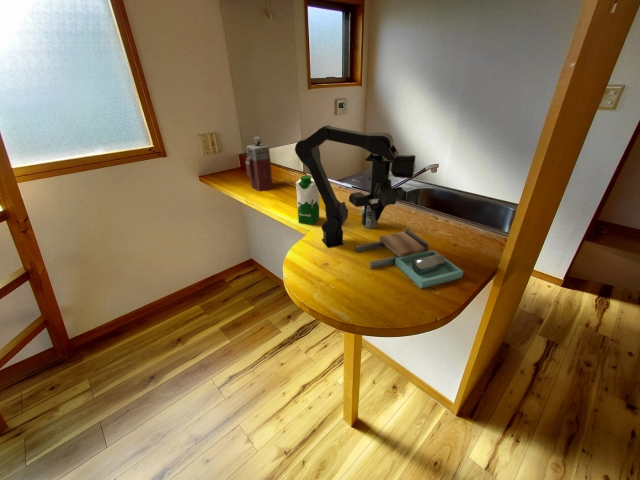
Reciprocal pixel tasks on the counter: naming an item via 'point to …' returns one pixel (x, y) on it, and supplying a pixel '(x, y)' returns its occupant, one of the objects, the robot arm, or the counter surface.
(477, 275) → the counter surface
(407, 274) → the tray
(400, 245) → the board
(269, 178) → the maroon lidded pitcher
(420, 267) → the roller
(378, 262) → the track
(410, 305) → the counter surface
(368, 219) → the beverage can
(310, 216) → the milk carton
